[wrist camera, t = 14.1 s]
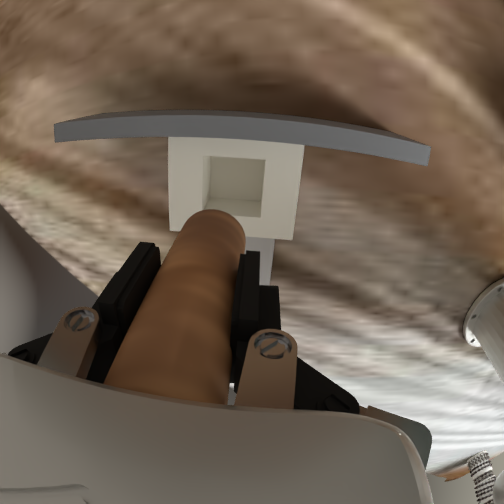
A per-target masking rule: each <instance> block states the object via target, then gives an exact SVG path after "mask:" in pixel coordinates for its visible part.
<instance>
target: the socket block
mask: <svg viewBox="0 0 504 504" xmlns="http://www.w3.org/2000/svg"><path fill="white" fill-rule="evenodd" d="M303 154H304V145H299V144H290V143H280V142H269V141H257V140H243V139H226V138H202V137H168V193H169V224H170V231H181V229H182V227H183V225H184V224H185V222H186V221H187V219H188V218H189V217H191V216H192V215H193V214H195V213H197V212H199V211H202V210H207V209H216V210H221V211H224V212H226V213H228V214H230V215H232V216H233V217H234V218H235V219H236V220H237V221H238V222H239V223H240V224H241V226H242V228H243V230H244V233H245V236H247V237H259V238H271V239H283V240H292V239H293V232H294V225H295V217H296V210H297V203H298V195H299V187H300V179H301V171H302V163H303Z"/></svg>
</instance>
